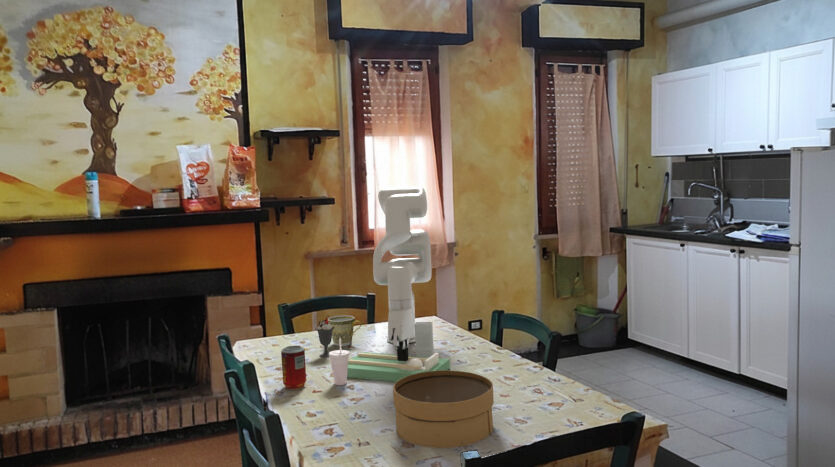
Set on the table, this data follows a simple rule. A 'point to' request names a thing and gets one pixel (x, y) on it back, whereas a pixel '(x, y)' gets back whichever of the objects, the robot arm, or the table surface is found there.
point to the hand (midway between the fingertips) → (402, 360)
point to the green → (391, 366)
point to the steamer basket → (443, 408)
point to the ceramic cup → (343, 329)
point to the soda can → (293, 367)
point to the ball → (415, 362)
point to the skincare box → (424, 339)
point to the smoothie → (339, 365)
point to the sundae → (325, 335)
